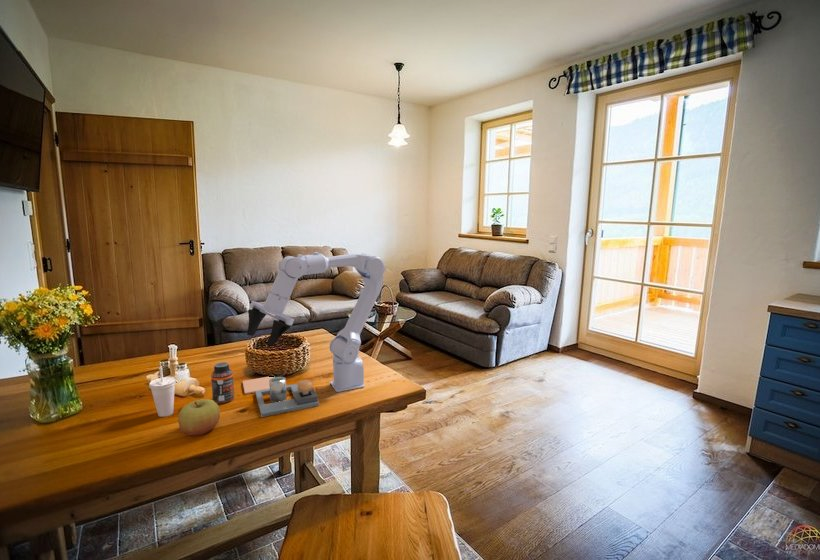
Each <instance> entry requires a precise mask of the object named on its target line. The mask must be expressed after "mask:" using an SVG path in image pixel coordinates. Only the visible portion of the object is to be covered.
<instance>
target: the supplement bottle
mask: <svg viewBox="0 0 820 560" xmlns="http://www.w3.org/2000/svg"><path fill="white" fill-rule="evenodd" d="M210 378H211V392H212V394H211V395H212V400H213V401H214V402H215V403H216V404H217V405H221V404H226V403H230V402H232V401H233V400H234V398H235V388H234V387H235V386H234V385H235V384H234V372H233V370H232V369H231V368H230V364H229V362H217V363H215V364H214V365H213V371H212V372H211V375H210Z"/></svg>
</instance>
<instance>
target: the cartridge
mask: <svg viewBox="0 0 820 560" xmlns="http://www.w3.org/2000/svg"><path fill="white" fill-rule="evenodd" d="M286 386H287V381H286V377H284V376H274V378H272V379H270V380H269V387H270V394H269V401H270V402H272V401H273V402H272V403H275V402H279V401H283V400H284V401H286V400H287V396H288V395H287V391H286Z"/></svg>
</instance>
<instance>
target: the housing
mask: <svg viewBox="0 0 820 560" xmlns="http://www.w3.org/2000/svg"><path fill="white" fill-rule="evenodd" d="M287 391H291V393H292V396H293V398H291V399H285V400H284V401H280V402H272V403H271V402H270V403H265V401H264V398H263V396H264V394H265V395H270V394H269V393H270V389H265V390H259V391H255V393H254V394H255V398H256V402H257V406H258V409H259V412H260V416H261V418H265V416H266V417H269V415H271V416H275V415H274V414H276V415H280V414H279V413H281V414H284V413H283V412H286V413H289V412H290V411H291V412H294V411H299V409H300V410H303V409H310V408H314V407H313V406H315V407H319V406H320V402H319V396H318V393H317V392H316V390H315V389H314V388H313V389H312V390H311V391H309V394H307V395H302V392H300V391H298V388H297V383H294V384H286V392H287ZM309 407H310V408H309Z"/></svg>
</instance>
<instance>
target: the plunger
mask: <svg viewBox="0 0 820 560" xmlns="http://www.w3.org/2000/svg"><path fill="white" fill-rule="evenodd" d="M296 384H297V388H298V391H300V392H302V395H307V394H309V391H311V390H312V389H314V387H313V385H314V383H313V380H312V379H309V378H308V379H301V380H299V381H297V383H296Z"/></svg>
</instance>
